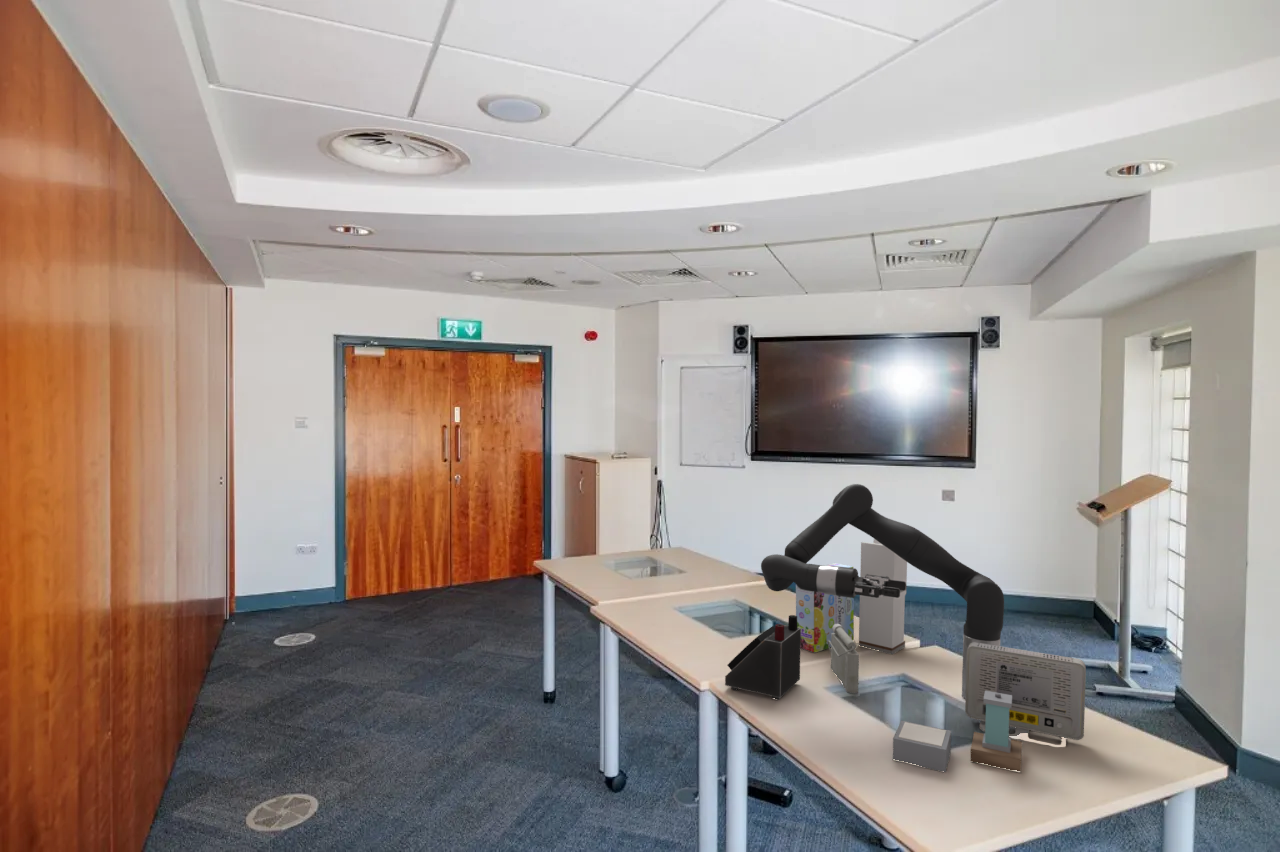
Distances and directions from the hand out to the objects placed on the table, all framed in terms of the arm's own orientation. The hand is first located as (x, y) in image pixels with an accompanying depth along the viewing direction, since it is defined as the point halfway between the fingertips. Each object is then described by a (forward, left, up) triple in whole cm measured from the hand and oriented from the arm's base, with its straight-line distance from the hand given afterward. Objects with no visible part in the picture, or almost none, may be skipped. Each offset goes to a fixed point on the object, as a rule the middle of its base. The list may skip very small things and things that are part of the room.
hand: (902, 589), depth 181 cm
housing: (-11, +21, -31) cm, 39 cm away
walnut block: (-11, +21, -34) cm, 41 cm away
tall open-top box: (-33, -54, -34) cm, 72 cm away
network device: (-27, +12, -34) cm, 45 cm away
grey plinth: (+5, +16, -34) cm, 38 cm away
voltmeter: (+22, -31, -34) cm, 52 cm away
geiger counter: (-4, -33, -34) cm, 48 cm away
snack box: (-15, -61, -34) cm, 72 cm away
